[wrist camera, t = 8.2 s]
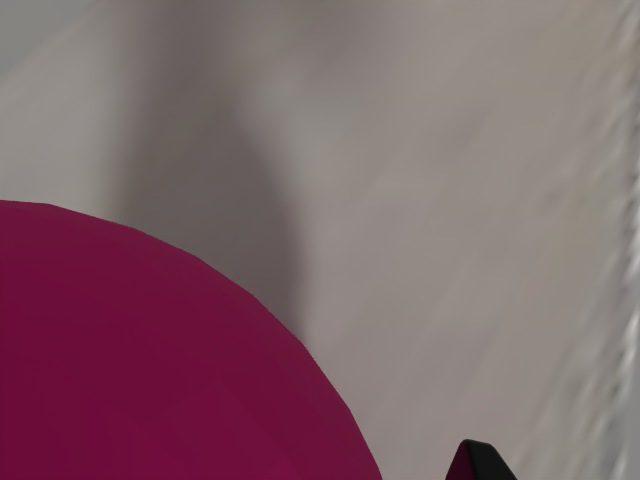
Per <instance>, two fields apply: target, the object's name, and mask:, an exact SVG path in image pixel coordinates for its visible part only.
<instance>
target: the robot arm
mask: <svg viewBox="0 0 640 480" xmlns="http://www.w3.org/2000/svg"><path fill="white" fill-rule="evenodd" d="M445 480H517V478H516V477H515V475H514V474H513V473H512V471H511V470H510V469H509V467H508V466H507V464H506V463H505V462H504V460H503V459H502V457H501V456H500V455H499V453H498V452H497V450H496V449H495V448H494V447H493V446H492V445H490V444H488V443H484V442H479V441H475V440H470V439H465V440H463V441H462V442H461V443H460V445H459V447H458V449H457V452H456V454H455V456H454V459H453V461H452V463H451V466H450V468H449V470H448V473H447V475H446V479H445Z"/></svg>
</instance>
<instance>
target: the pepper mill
mask: <svg viewBox="0 0 640 480" xmlns="http://www.w3.org/2000/svg"><path fill="white" fill-rule="evenodd" d="M0 480H383V479H382V477H381V474H380V471H379V468H378V466H377V464H376V462H375V460H374V458H373V456H372V454H371V452H370V450H369V448H368V446H367V444H366V442H365V440H364V438H363V436H362V434H361V432H360V430H359V427H358V425H357V423H356V421H355V419H354V417H353V415H352V413H351V411H350V409H349V408H348V406H347V405H346V404H345V402H344V401H343V399H342V398H341V397H340V395H339V394H338V392H337V391H336V390H335V388H334V387H333V386H332V384H331V383H330V381H329V380H328V379H327V377H326V376H325V374H324V373H323V372H322V370H321V369H320V367H319V366H318V365H317V363H316V362H315V360H314V359H313V358H312V356H311V355H310V353H309V352H308V351H307V349H306V348H305V347H304V345H303V344H302V343H301V342H300V341H299V340H298V339H297V338H296V337H295V336H294V335H293V334H292V333H291V332H290V331H289V330H288V329H287V328H286V327H285V326H284V325H283V324H282V323H281V322H280V321H279V320H278V319H277V318H276V317H274V316H273V315H272V314H271V313H270V312H269V311H268V310H267V309H266V308H265V307H264V306H263V305H262V304H261V303H260V302H259V301H258V300H257V299H256V298H255V297H254V296H253V295H252V294H250V293H249V292H247V291H246V290H244V289H243V288H241V287H240V286H239V285H237V284H236V283H234V282H233V281H231V280H230V279H228V278H227V277H225V276H224V275H222V274H221V273H220V272H218V271H217V270H215V269H214V268H212V267H211V266H209V265H208V264H206V263H205V262H203V261H202V260H201V259H199V258H198V257H196V256H194V255H192V254H190V253H187V252H185V251H183V250H181V249H179V248H176V247H174V246H172V245H170V244H168V243H165V242H163V241H161V240H159V239H156V238H154V237H152V236H150V235H148V234H145V233H143V232H141V231H139V230H137V229H134V228H131V227H128V226H124V225H121V224H117V223H114V222H110V221H107V220H103V219H100V218H96V217H93V216H89V215H86V214H82V213H79V212H75V211H72V210H68V209H65V208H62V207H58V206H55V205H51V204H45V203H32V202H19V201H7V200H0Z"/></svg>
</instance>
